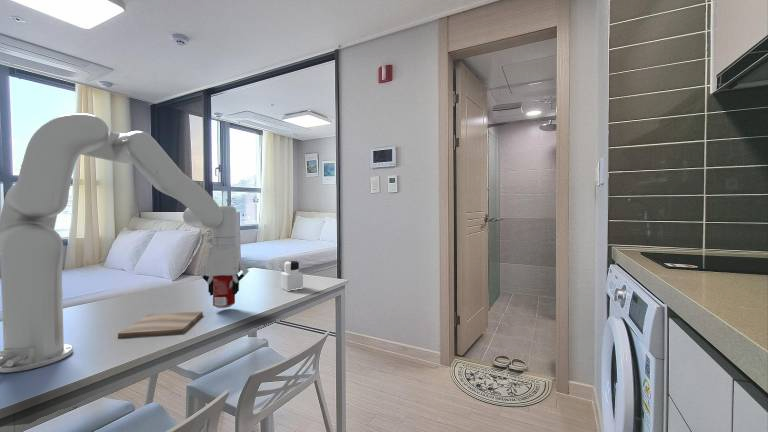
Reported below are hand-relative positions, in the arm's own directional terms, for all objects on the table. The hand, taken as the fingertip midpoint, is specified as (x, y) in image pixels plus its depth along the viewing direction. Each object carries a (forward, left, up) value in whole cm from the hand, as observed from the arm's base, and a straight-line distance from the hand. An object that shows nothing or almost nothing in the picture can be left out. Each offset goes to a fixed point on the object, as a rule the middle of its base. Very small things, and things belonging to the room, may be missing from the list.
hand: (223, 293), depth 112 cm
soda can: (0, 0, -4) cm, 4 cm away
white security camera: (+26, -20, -6) cm, 34 cm away
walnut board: (-12, +14, -6) cm, 19 cm away
